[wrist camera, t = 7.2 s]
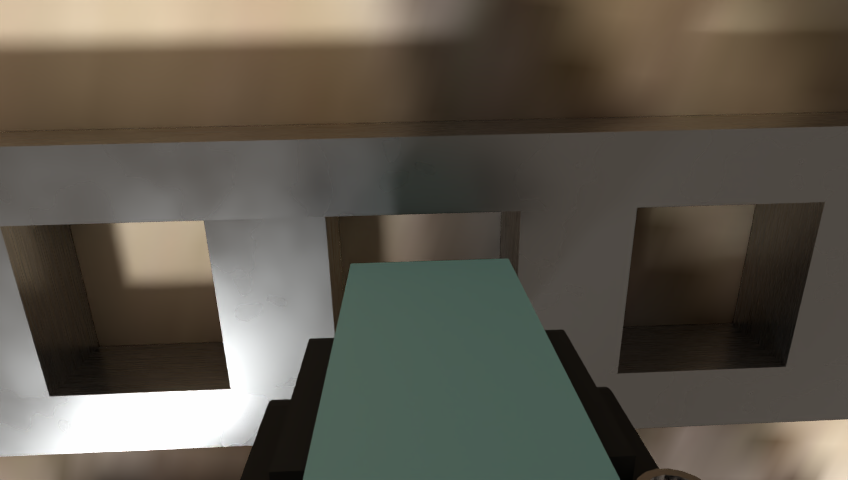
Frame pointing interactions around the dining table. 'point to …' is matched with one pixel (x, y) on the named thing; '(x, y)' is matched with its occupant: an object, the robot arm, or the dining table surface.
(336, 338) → the square block
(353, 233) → the dining table surface
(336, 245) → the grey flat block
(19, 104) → the dining table surface
